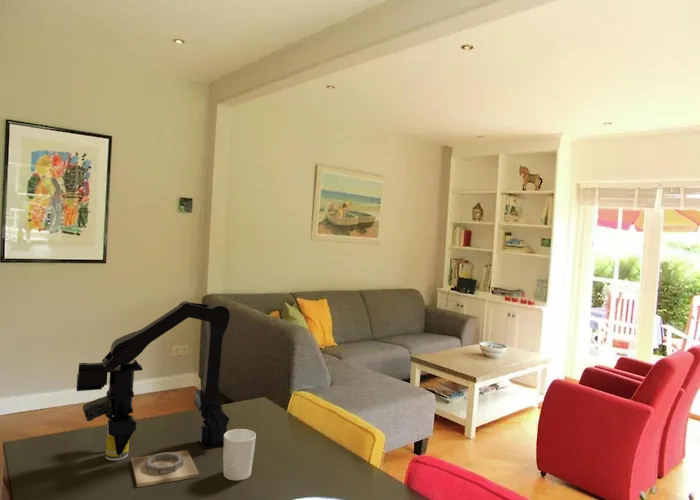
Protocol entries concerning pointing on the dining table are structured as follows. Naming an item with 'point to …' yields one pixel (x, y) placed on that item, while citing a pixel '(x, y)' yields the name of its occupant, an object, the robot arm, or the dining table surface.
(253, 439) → the white cup
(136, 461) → the board
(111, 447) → the supplement bottle
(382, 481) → the dining table surface
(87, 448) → the dining table surface
